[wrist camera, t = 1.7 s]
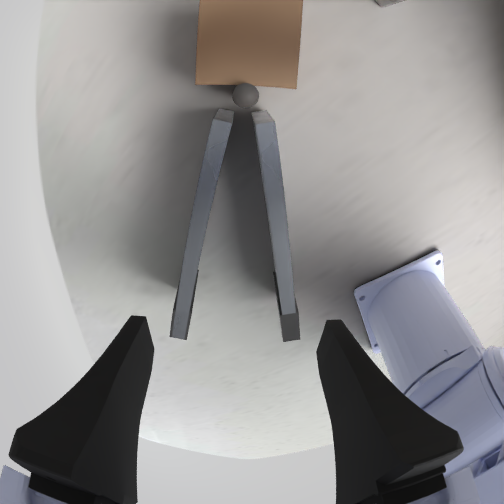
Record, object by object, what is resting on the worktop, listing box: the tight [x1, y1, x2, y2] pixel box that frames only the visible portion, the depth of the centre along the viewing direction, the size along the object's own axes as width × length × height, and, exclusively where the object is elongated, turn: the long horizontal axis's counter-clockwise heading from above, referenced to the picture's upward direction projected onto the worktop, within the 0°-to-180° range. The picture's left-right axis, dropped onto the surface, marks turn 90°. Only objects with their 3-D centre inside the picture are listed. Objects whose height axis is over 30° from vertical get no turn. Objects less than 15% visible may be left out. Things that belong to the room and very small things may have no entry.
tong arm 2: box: [252, 110, 300, 342], centre depth 17 cm, size 13×1×4 cm, turn 9°
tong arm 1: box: [170, 108, 234, 340], centre depth 17 cm, size 13×1×4 cm, turn 165°
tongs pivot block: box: [195, 0, 303, 108], centre depth 11 cm, size 5×4×5 cm
